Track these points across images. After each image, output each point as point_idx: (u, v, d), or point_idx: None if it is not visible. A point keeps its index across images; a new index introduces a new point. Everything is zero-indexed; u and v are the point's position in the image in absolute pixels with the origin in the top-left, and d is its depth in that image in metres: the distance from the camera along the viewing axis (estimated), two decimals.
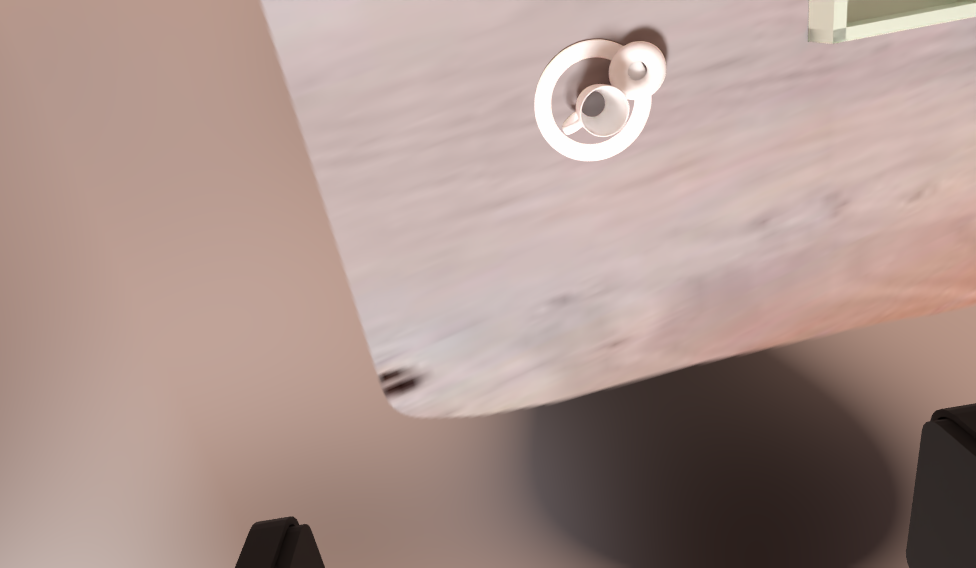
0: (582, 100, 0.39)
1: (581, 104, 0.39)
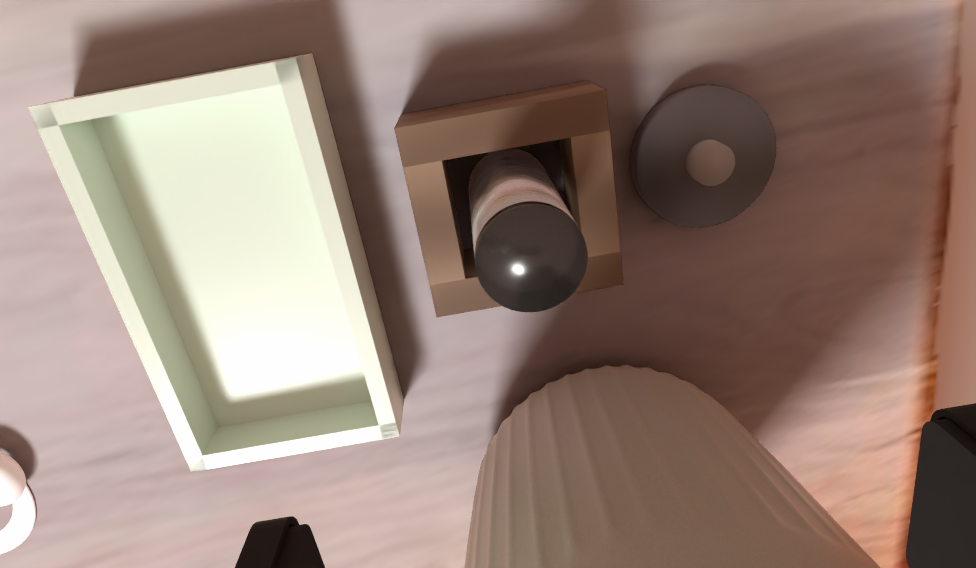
0: None
1: None
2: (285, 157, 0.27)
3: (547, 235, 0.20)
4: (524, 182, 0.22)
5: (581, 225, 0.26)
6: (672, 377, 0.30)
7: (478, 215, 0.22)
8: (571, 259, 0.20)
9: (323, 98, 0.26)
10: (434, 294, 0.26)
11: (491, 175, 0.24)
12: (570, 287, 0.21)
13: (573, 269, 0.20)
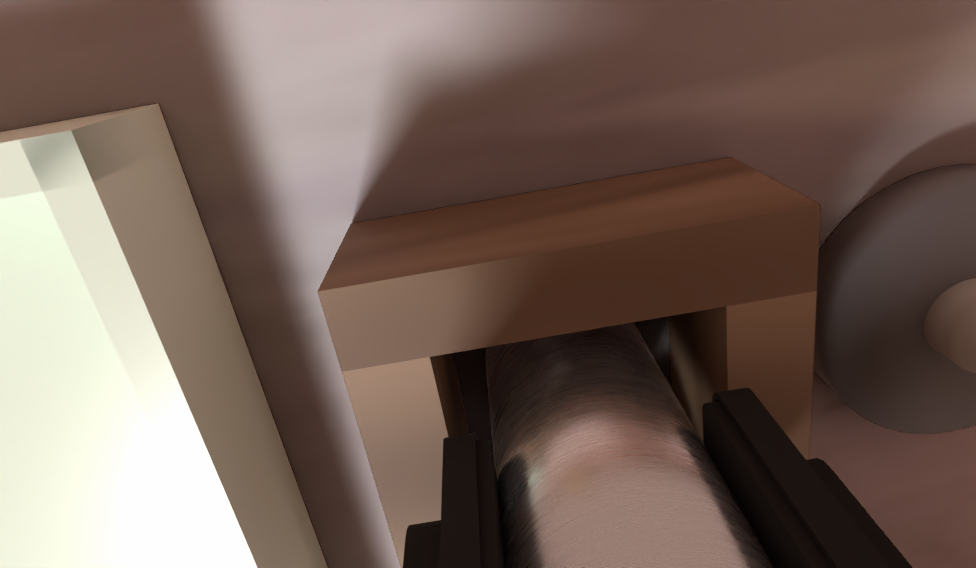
0: None
1: None
2: None
3: None
4: (640, 461, 0.09)
5: None
6: None
7: (522, 558, 0.08)
8: None
9: (187, 195, 0.13)
10: None
11: (542, 388, 0.11)
12: None
13: None
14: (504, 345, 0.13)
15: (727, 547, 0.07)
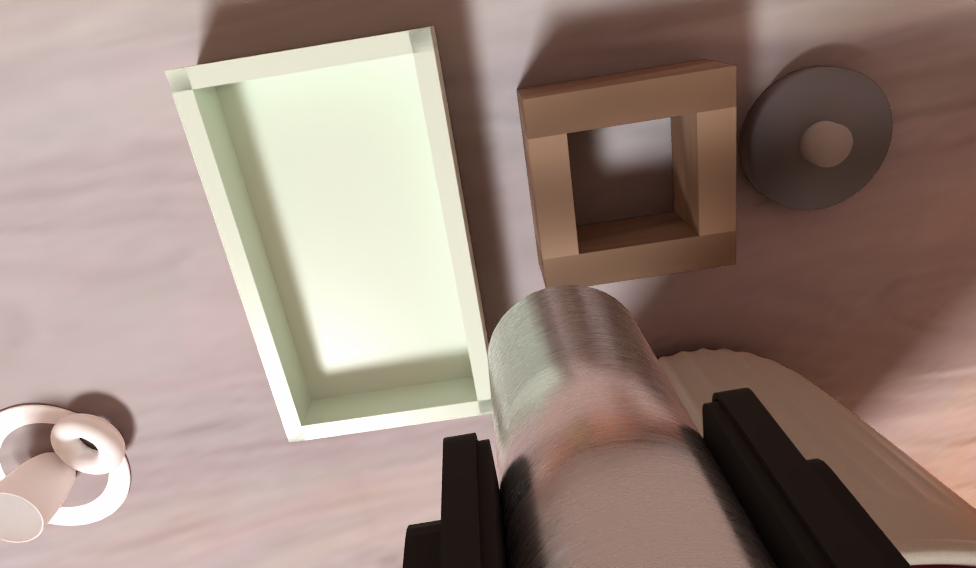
0: None
1: None
2: (402, 129, 0.27)
3: None
4: (644, 461, 0.09)
5: (699, 202, 0.26)
6: (772, 361, 0.30)
7: (526, 559, 0.08)
8: None
9: (441, 71, 0.26)
10: (547, 269, 0.26)
11: (545, 388, 0.11)
12: None
13: None
14: (507, 345, 0.13)
15: (732, 547, 0.07)
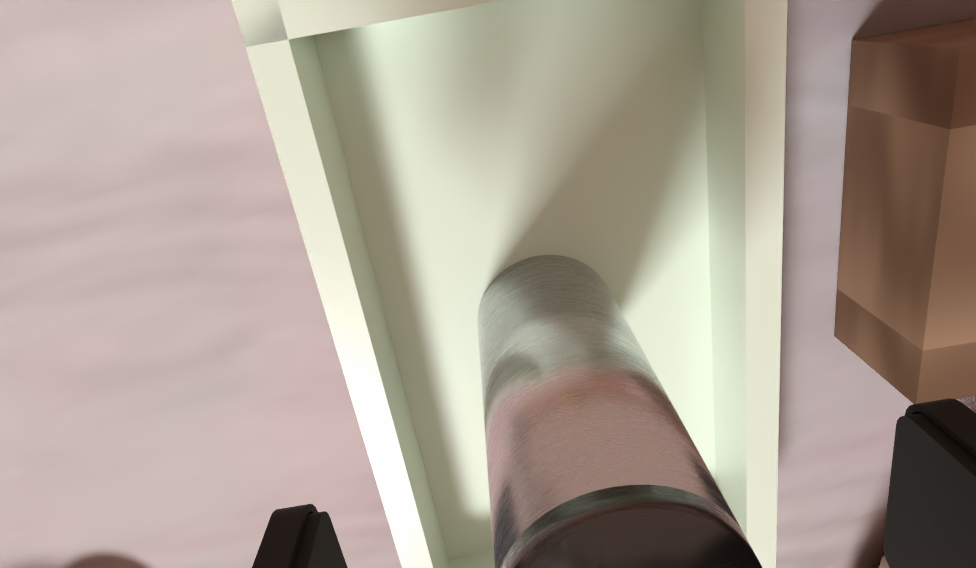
0: None
1: None
2: (652, 115, 0.15)
3: None
4: (600, 385, 0.10)
5: None
6: None
7: (502, 462, 0.10)
8: None
9: None
10: (926, 366, 0.14)
11: (523, 335, 0.13)
12: None
13: None
14: (493, 306, 0.15)
15: (665, 444, 0.09)
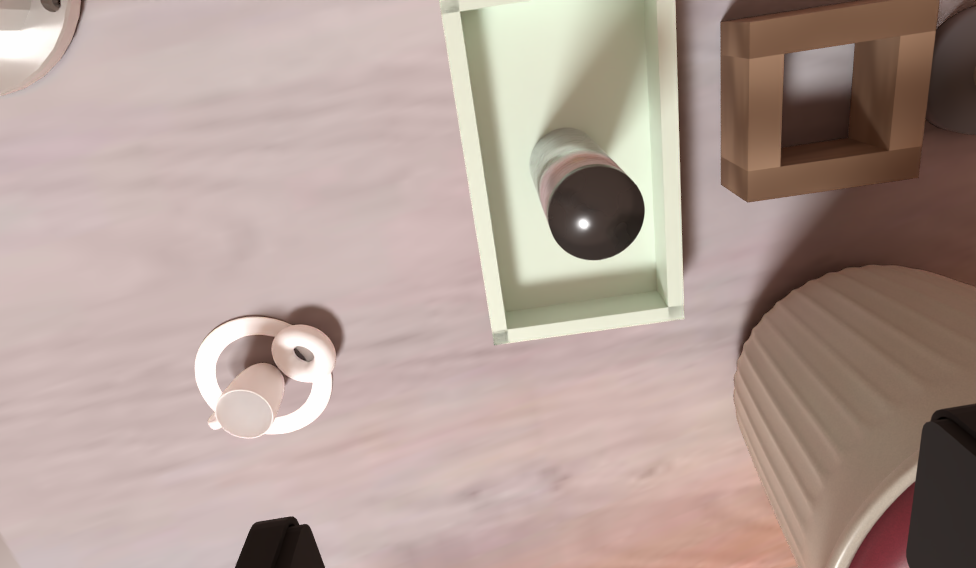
0: None
1: (216, 405, 0.34)
2: (620, 55, 0.30)
3: (611, 192, 0.23)
4: (588, 151, 0.26)
5: (892, 119, 0.29)
6: None
7: (548, 178, 0.25)
8: (630, 215, 0.24)
9: None
10: (750, 180, 0.30)
11: (556, 147, 0.28)
12: (628, 239, 0.24)
13: (631, 223, 0.24)
14: (539, 147, 0.30)
15: (611, 162, 0.25)
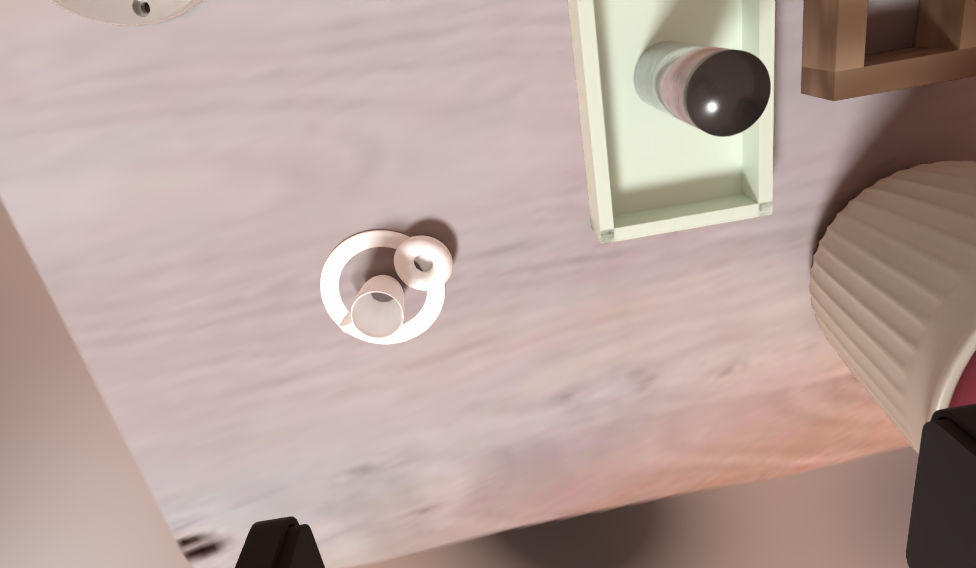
0: (353, 303, 0.37)
1: (351, 307, 0.37)
2: None
3: (743, 73, 0.27)
4: (710, 46, 0.29)
5: (962, 21, 0.33)
6: None
7: (677, 69, 0.29)
8: (758, 93, 0.27)
9: None
10: (837, 80, 0.33)
11: (671, 50, 0.32)
12: (755, 116, 0.28)
13: (758, 101, 0.28)
14: (648, 57, 0.34)
15: None
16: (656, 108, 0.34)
